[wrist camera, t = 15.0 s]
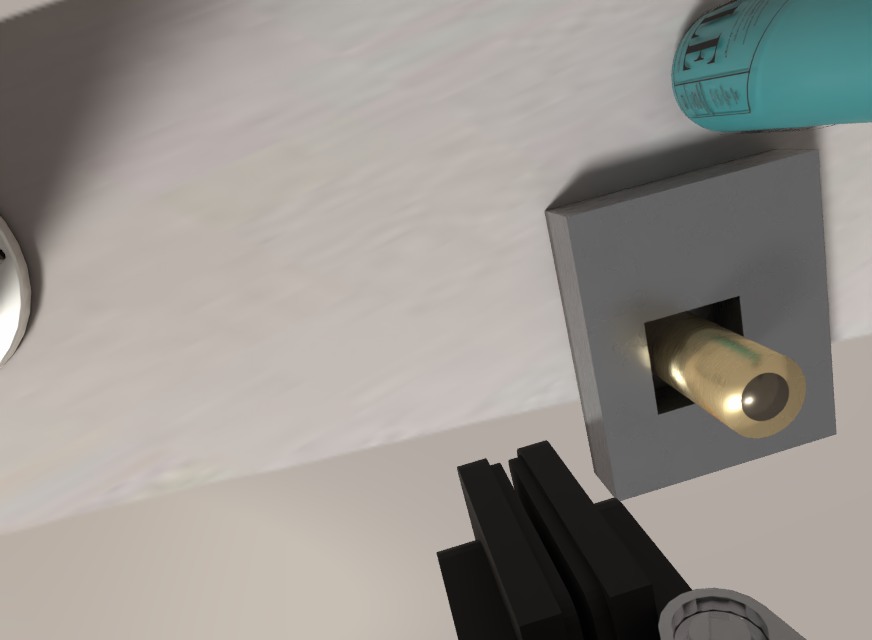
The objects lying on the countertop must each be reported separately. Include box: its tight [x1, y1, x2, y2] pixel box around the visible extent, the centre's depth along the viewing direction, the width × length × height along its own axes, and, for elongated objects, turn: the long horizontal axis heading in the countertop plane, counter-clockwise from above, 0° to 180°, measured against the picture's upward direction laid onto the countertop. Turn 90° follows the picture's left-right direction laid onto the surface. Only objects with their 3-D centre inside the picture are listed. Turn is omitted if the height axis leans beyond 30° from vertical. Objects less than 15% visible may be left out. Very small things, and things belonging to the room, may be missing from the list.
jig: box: [545, 149, 836, 501], centre depth 37 cm, size 14×17×4 cm
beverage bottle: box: [671, 0, 872, 135], centre depth 26 cm, size 6×7×20 cm
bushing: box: [644, 311, 806, 438], centre depth 34 cm, size 4×4×9 cm
